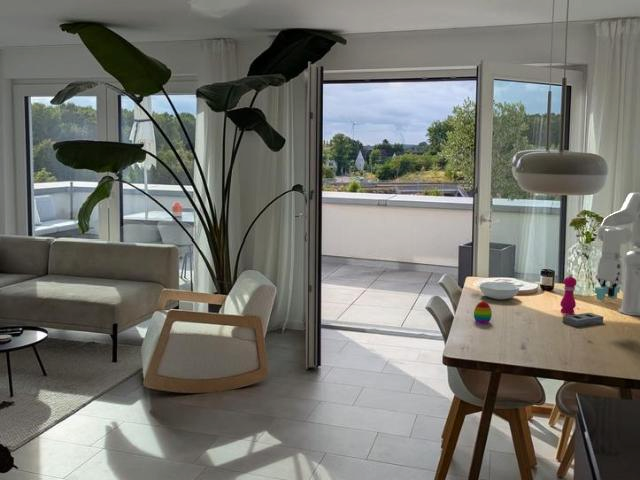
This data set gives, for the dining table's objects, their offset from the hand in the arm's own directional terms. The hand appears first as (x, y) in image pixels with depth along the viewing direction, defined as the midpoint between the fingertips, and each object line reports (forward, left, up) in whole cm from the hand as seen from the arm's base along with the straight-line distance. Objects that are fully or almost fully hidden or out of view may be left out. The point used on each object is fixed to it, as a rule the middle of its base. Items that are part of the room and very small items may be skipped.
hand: (607, 294), depth 300 cm
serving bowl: (+4, -66, -17) cm, 68 cm away
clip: (0, 0, -2) cm, 2 cm away
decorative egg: (+45, -31, -17) cm, 57 cm away
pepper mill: (-7, -28, -16) cm, 33 cm away
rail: (0, -12, -16) cm, 20 cm away
